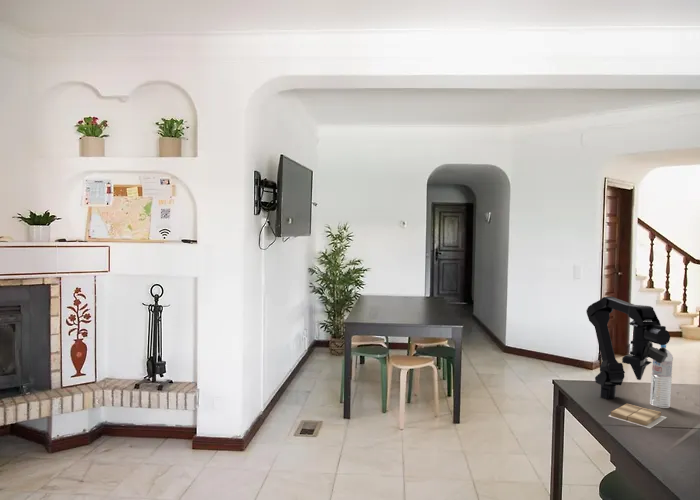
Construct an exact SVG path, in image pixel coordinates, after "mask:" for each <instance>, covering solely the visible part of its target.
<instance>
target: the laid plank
mask: <svg viewBox="0 0 700 500" xmlns="http://www.w3.org/2000/svg"><path fill="white" fill-rule="evenodd" d="M642 408H643V407H641V406H638V405H635V404H630V403H625V404H623V405H621V406H619V407H617V408H616V409H614V410H611V411H610V415H611V416H613V417H617V418H620V419H623V420H628V416H630V415H632V414H633V413H635V412H637V411H639V410H640V409H642ZM613 417H612V418H613ZM620 419H619V420H620ZM623 420H622V421H623Z"/></svg>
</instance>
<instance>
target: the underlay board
mask: <svg viewBox="0 0 700 500" xmlns="http://www.w3.org/2000/svg"><path fill="white" fill-rule="evenodd" d="M608 417H610V418H613V419H617V420H619V421H623V422H627V423H631V424H634V425H637V426H641V427H643V428H647V429H651V428H653V427H655V426H656V425H657V424H659V423H661V422H662V421H664V420H666V419H667V418H668V417H667V416H663V415H661V416H660V417H659V418H657V419H656V420H654V421H652V422H651V423H649V424H648V425H642V424H638V423H634V422H631V421H628V420H623V419H620V418H617V417H613V416H611V414H609V415H608Z"/></svg>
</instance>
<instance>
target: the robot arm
mask: <svg viewBox="0 0 700 500" xmlns="http://www.w3.org/2000/svg"><path fill="white" fill-rule="evenodd" d="M614 310H615V311H618V312H620V313H624V314H626V315H627V316H628V318H629V319H631V321H630V322H629V323H628V324H629V325H630V326H633V328H632V330H633V331H632V340H630V344H631V345H632V346H631V347H632V348H631V351H629V353H628V354H626V355H624V356H622V359H621V361H622V362H618V360H617V359H616V355H615V353H614V352H615V351H614V347H613V343H612V339H611V338H612V337H611V334H610V329H609V326H608V325H609V322H610V319H611V317H610V316H611V315H610V314H611V313H613V312H614ZM586 315H587V319H588V321H589V322H590V323H591V325H593V326H594V327H593V328H594V330H595V335H596V339H597V344H598V348H599V353H600V358H601V363H600V366H599V373H598V374H597V375H596V376H595V377H594V381H595V384H598V385H599V386H600V388H599V389H600V390H599V397H600V398H602V399H605V400H615V399H616V395H617V392H616V391H617V386H622V384H623V382H624V379H625V373H626V372H625V370H624V364H626V365H630V367H631V369H632V371H633V373H634V376H635V379H636V380H637V381H641V380H642V378H643V375H644V372H645V371H646V368H647V366H649V365H651V364H653V360H655V361H656V362H658V363H662V362H664V361H665V359H666V357H668V356H667V351H666V349H667V348H666V349H665V348H663V347H662V348H661V347H660V348H657V347H654V346H653V343H654V344H657V345H660V346H661V345H666V346H667V345H668V343H669V342H670V340H671V335H670V333H669V331H668V330H667V327H666V326H665V325H662V324H661V322H660V320H659V318H658V316H657V313H656V311H655V309H654V307H652V306H651V305H643V304H634V303H630V302H628V301H625V300H622V299H619V298H617V297H615V296H603V297H601V299H599V300H598V301H597V300H596V301H595V302H593V303H592V304H590V305H589V306H588V307H587V309H586ZM648 358H650V359H651V360H652V361H649V360H648Z"/></svg>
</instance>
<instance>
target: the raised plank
mask: <svg viewBox="0 0 700 500" xmlns="http://www.w3.org/2000/svg"><path fill="white" fill-rule="evenodd" d="M660 416H662V412H661V411H659V410H654V409H649V408H646V407H642V409H640V410H639V411H637V412H635V413H633V414H632V415H630V416H628V421H631V422H634V423H638V424H642V425H648V424H649V423H651V422H652V421H654V420H656V419H657V418H659V417H660Z"/></svg>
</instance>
